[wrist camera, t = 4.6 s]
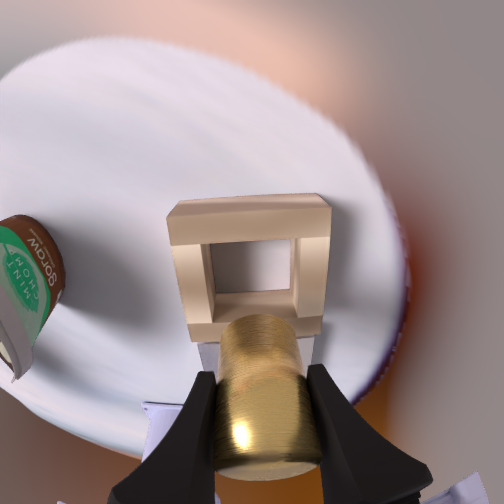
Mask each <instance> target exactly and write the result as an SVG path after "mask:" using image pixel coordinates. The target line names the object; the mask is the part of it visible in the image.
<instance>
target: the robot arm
mask: <svg viewBox="0 0 504 504" xmlns="http://www.w3.org/2000/svg"><path fill="white" fill-rule="evenodd" d="M306 381H307V386H308V390H309V395H310V399H311V404H312V409H313V413H314V418H315V423H316V427H317V432H318V437H319V442H320V447H321V452H322V457H323V460H322V462H321V463H320V469H321V478H322V487H323V497H324V504H489V501H488V498H487V495H486V492H485V489H484V487H483V484H482V481H481V479H480V477H479V474H478V471H475V472H474V473H472V474H471V475H469V476H467V477H466V478H464V479H463V480H461V481H460V482H458V483H456V484H455V485H453V486H451V487H450V488H449V489H447V490H445V491H443V492H441V493H439V494H438V495H436V496H434V497H432V498H430V499H428V500H426V501H423V502H421V503H420V502H419V499H418V498H420V497H421V495H420V490H422V489H423V488H425V487H427V486H428V485H430V484H431V483H432V482H433V478H432V475H431V473H430V471H429V469H428V467H427V465H426V464H424V463H422V462H420V461H418V460H416V459H414V458H412V457H411V456H409V455H407V454H406V453H404V452H403V451H401V450H400V449H398V448H397V447H395V446H394V445H393V444H391V443H390V442H389V441H388V440H386V439H385V438H384V437H382V436H381V435H380V434H379V433H378V432H377V431H375V430H374V429H373V428H372V427H371V426H370V425H369V424H368V423H367V422H366V421H365V420H364V419H363V418H362V417H361V416H360V414H359V413H358V412H357V411H356V410H355V409H354V408H353V406H352V405H351V404H350V403H349V401H348V400H347V399H346V398H345V396H344V395H343V394H342V392H341V391H340V390H339V388H338V387H337V385H336V384H335V383H334V381H333V380H332V378H331V376H330V375H329V373H328V372H327V370H326V368H325V367H324V365H323V364H315V365H308V369H307V376H306ZM216 393H217V383H216V379H215V374H214V371H200V372H198V374H197V377H196V380H195V382H194V384H193V387H192V389H191V391H190V393H189V395H188V397H187V399H186V401H185V403H184V405H166V404H154V403H141V407H142V409H143V410H144V412H145V414H146V415H147V417H148V418H149V420H150V425H149V429H148V434H147V438H146V443H145V448H144V453H143V458H142V463H141V464H140V465H139V466H138V467H137V468H136V469H135V470H134V471H133V472H131V473H130V474H129V475H128V476H127V477H126V478H124V479H123V480H122V481H120V482H119V483H118V484H117V485H115V486H114V487H113V488H112V490H111V492H110V495H109V497H108V502H107V504H221V503H220V499H219V497H218V496H217V495H216V493H215V481H214V480H215V479H214V478H215V477H214V476H215V475H214V469H213V447H214V427H215V409H216ZM57 504H65V503H63V502H61V501H58V502H57Z"/></svg>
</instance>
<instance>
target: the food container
mask: <svg viewBox="0 0 504 504" xmlns="http://www.w3.org/2000/svg"><path fill="white" fill-rule="evenodd" d="M64 288H65V270H64V265H63V261H62V257H61V255H60V252H59V250H58V248H57V245H56V244H55V242H54V240H53V238H52V237H51V236H50V234H49V233H48V231H47V230H46V229H45V228H44V227H43V226H42V225H41V224H40V223H39V222H37V221H36V220H34V219H33V218H31V217H29V216H26V215H14V216H12V217H9V218H7V219H4V220H2V221H0V358H1V359H2V360H3V361H4V362H5V363H6V364H7V365H8V366H9V367H10V369H11V370H12V371H13V372H14V377H13V379H12V381H11V383H13V382H14V381H15V379H17V380H18V379H19V378H20V377H22V376H23V375H24V374H25V373H26V372H27V371H28V370H29V369H30V367H31V365H32V361H33V355H32V349H31V348H32V346H33V344H34V342H35V340H36V338H37V336H38V335H39V333H40V331H41V329H42V328H43V326H44V324H45V322H46V321H47V319H48V317H49V316H50V314H51V312H52V311H53V309H54V307H55V306H56V304H57V303H58V301H59V299H60V298H61V296H62V293H63V290H64Z"/></svg>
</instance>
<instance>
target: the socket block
mask: <svg viewBox="0 0 504 504" xmlns="http://www.w3.org/2000/svg"><path fill="white" fill-rule="evenodd" d="M296 338H297V342H298V346H299V350H300V355H301V359H302V363H303V368H304V372H305V377H306V376H307V369H308V365H311V360H312V353H313V345H314V335H307V336H297V337H296ZM197 345H198V349H199V354H200V357H201V361H202V365H203V369H204V371H214V374H215V379H216V383H217V377H218V363H219V349H220V342H198V343H197Z"/></svg>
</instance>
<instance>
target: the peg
mask: <svg viewBox="0 0 504 504" xmlns="http://www.w3.org/2000/svg"><path fill="white" fill-rule="evenodd" d="M322 460H323V457H322V452H321V447H320V442H319V437H318V432H317V427H316V423H315V418H314V413H313V409H312V404H311V399H310V395H309V390H308V386H307V381H306V377H305V372H304V368H303V363H302V359H301V355H300V350H299V346H298V342H297V338H296V333H295V331H294V329H293V327H292V326H291V325H290V324H289V323H288V322H286V321H285V320H283V319H281V318H279V317H276V316H273V315H268V314H253V315H248V316H244V317H241V318H239V319H237V320H235V321H233V322H232V323H230V324H229V325H228V326H227V327H226V328H225V329H224V331H223V333H222V335H221V338H220V349H219V363H218V377H217V393H216V409H215V427H214V447H213V469H214V470H215V471H216V472H217V473H219V474H221V475H223V476H226V477H229V478H234V479H240V480H251V481H263V480H276V479H283V478H288V477H292V476H296V475H299V474H303V473H305V472H308V471H310V470H312V469H314V468H315V467H317V466H318V465H319V464H320V463H321V462H322Z"/></svg>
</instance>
